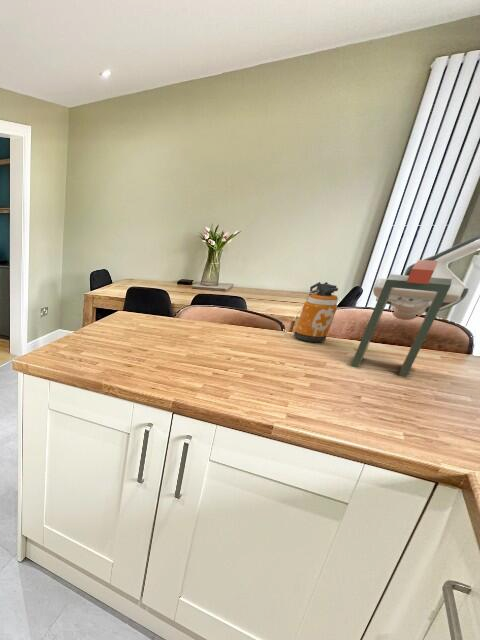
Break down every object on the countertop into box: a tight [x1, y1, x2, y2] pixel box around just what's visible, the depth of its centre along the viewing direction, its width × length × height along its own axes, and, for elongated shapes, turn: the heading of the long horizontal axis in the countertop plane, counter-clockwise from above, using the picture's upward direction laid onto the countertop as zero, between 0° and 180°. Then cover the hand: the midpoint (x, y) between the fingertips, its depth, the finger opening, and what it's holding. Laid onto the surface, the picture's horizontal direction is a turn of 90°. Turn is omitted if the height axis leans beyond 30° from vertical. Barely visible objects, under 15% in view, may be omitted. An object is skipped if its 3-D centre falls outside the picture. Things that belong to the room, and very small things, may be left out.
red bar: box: [407, 259, 438, 284], centre depth 111 cm, size 4×22×4 cm, turn 131°
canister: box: [293, 281, 339, 343], centre depth 141 cm, size 9×11×20 cm
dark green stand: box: [350, 273, 452, 378], centre depth 115 cm, size 12×11×26 cm
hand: (419, 280), depth 127 cm, fingers open, 8 cm apart
